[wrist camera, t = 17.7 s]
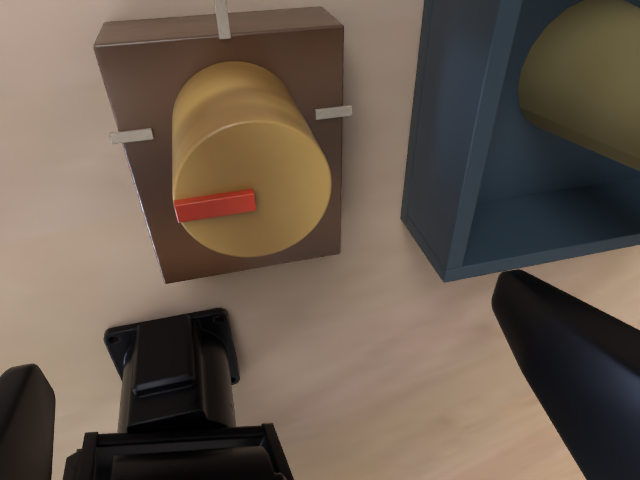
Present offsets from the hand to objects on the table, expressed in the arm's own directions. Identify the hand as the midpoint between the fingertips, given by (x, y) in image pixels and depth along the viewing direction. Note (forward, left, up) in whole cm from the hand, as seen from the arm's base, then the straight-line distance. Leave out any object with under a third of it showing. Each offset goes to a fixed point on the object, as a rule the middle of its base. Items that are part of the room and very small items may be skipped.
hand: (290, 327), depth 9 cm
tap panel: (-2, 0, -13) cm, 13 cm away
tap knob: (0, 0, -10) cm, 10 cm away
